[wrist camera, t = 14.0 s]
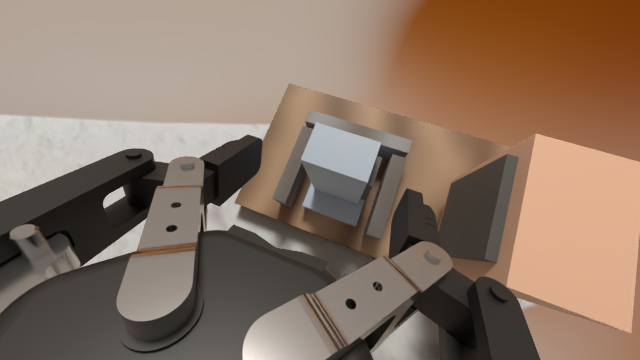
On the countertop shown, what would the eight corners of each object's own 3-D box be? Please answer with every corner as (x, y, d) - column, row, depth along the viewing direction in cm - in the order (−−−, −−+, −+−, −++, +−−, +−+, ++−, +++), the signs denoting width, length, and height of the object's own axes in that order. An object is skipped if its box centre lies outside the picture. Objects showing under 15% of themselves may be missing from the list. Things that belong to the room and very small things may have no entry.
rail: (240, 205, 25) (219, 197, 20) (291, 91, 28) (283, 63, 23) (482, 299, 21) (519, 314, 17) (512, 156, 24) (551, 137, 20)
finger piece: (304, 207, 23) (280, 184, 14) (326, 151, 24) (319, 95, 15) (355, 226, 22) (366, 215, 13) (375, 167, 23) (398, 118, 14)
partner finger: (421, 262, 21) (492, 281, 11) (444, 178, 22) (523, 130, 13) (489, 288, 20) (630, 333, 10) (507, 198, 21) (645, 163, 12)
